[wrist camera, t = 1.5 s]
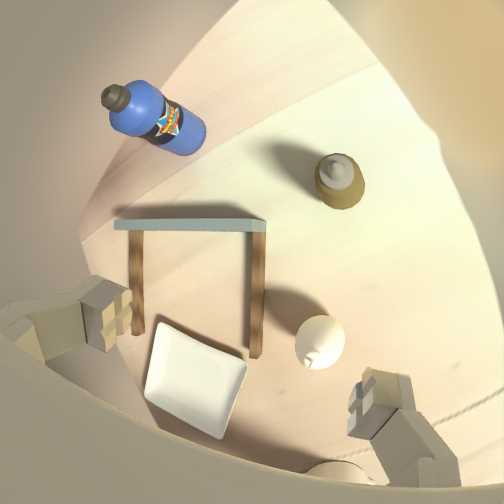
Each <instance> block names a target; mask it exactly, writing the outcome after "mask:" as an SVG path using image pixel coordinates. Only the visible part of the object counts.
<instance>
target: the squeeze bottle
mask: <svg viewBox="0 0 504 504" xmlns="http://www.w3.org/2000/svg"><path fill="white" fill-rule="evenodd" d="M315 181H316V187H317V191H318V194H319V197H320V198H321V199H322V201H323V202H324V203H325V204H326V205H328V206H330V207H332V208H334V209H341V210H344V209H347V208H351V207H353V206H354V205H356V204H357V203H358V202H359V201H360V200H361V198H362V196H363V194H364V188H365V182H364V179H363V176H362V173H361V171H360V168H359V166H358V164H357V163H356V162H355V161H354V160H353V159H352V158H351V157H349V156H347V155H345V154H339V153H334V154H331V155H327V156H326V157H324V158H323V159H322V160H321V161H320V162H319V164H318V166H317V167H316V172H315Z"/></svg>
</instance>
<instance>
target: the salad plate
mask: <svg viewBox="0 0 504 504" xmlns="http://www.w3.org/2000/svg"><path fill="white" fill-rule="evenodd" d="M248 369H249V365H248V363H247V362H246V361H244V360H242V359H240V358H238V357H235V356H233V355H230V354H228V353H225V352H223V351H220V350H218V349H215V348H213V347H210V346H208V345H206V344H204V343H202V342H199V341H197V340H195V339H193V338H191V337H190V336H188V335H186V334H184V333H182V332H180V331H179V330H177V329H175V328H173V327H172V326H170V325H168V324H166V323H163V322H159V323H158V325H157V329H156V333H155V338H154V344H153V349H152V354H151V360H150V365H149V370H148V375H147V380H146V384H145V390H144V396H145V398H146V399H147V400H149V401H150V402H152V403H153V404H155V405H156V406H158V407H160V408H162V409H163V410H165V411H167V412H168V413H170V414H172V415H174V416H175V417H177V418H179V419H181V420H183V421H184V422H186V423H188V424H190V425H192V426H193V427H195V428H197V429H199V430H201V431H203V432H205V433H207V434H209V435H211V436H212V437H215V438H217V439H222V438H223V436H224V434H225V431H226V428H227V425H228V421H229V418H230V415H231V412H232V409H233V407H234V404H235V401H236V399H237V396H238V394H239V392H240V389H241V387H242V385H243V382H244V380H245V378H246V375H247V372H248Z"/></svg>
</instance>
